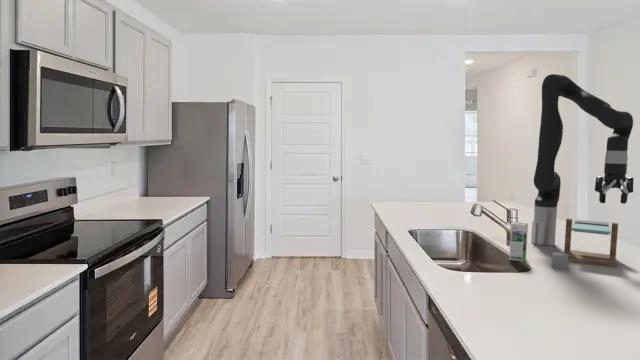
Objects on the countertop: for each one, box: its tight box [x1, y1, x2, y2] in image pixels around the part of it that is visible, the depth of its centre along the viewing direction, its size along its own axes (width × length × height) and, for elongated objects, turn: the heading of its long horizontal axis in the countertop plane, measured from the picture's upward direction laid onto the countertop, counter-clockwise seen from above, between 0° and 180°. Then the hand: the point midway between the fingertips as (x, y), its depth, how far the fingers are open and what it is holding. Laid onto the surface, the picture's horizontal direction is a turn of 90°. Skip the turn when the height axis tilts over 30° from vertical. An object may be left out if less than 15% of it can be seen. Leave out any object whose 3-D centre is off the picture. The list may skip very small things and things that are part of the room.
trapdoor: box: [571, 219, 612, 236], centre depth 188 cm, size 20×13×4 cm, turn 149°
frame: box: [563, 218, 619, 269], centre depth 187 cm, size 19×18×14 cm
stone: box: [551, 251, 569, 271], centre depth 174 cm, size 5×5×5 cm
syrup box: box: [508, 221, 529, 262], centre depth 184 cm, size 6×6×14 cm
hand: (612, 203), depth 188 cm, fingers open, 8 cm apart
